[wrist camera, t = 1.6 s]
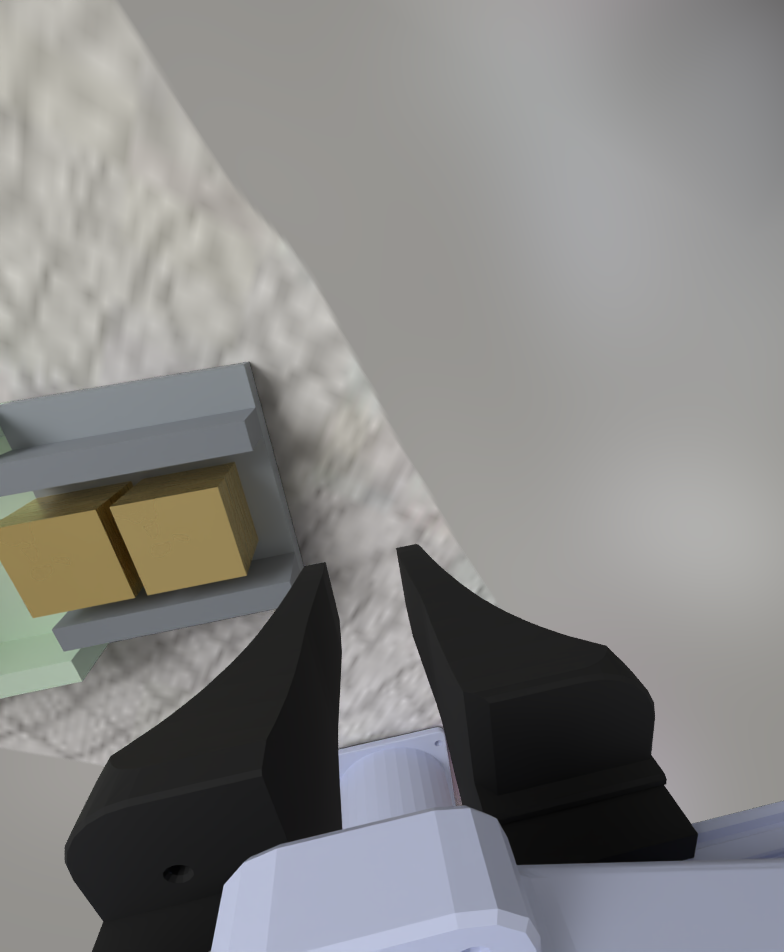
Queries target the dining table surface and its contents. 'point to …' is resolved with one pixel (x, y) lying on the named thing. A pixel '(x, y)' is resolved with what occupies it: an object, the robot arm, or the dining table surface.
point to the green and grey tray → (132, 459)
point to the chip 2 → (187, 528)
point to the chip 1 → (68, 551)
